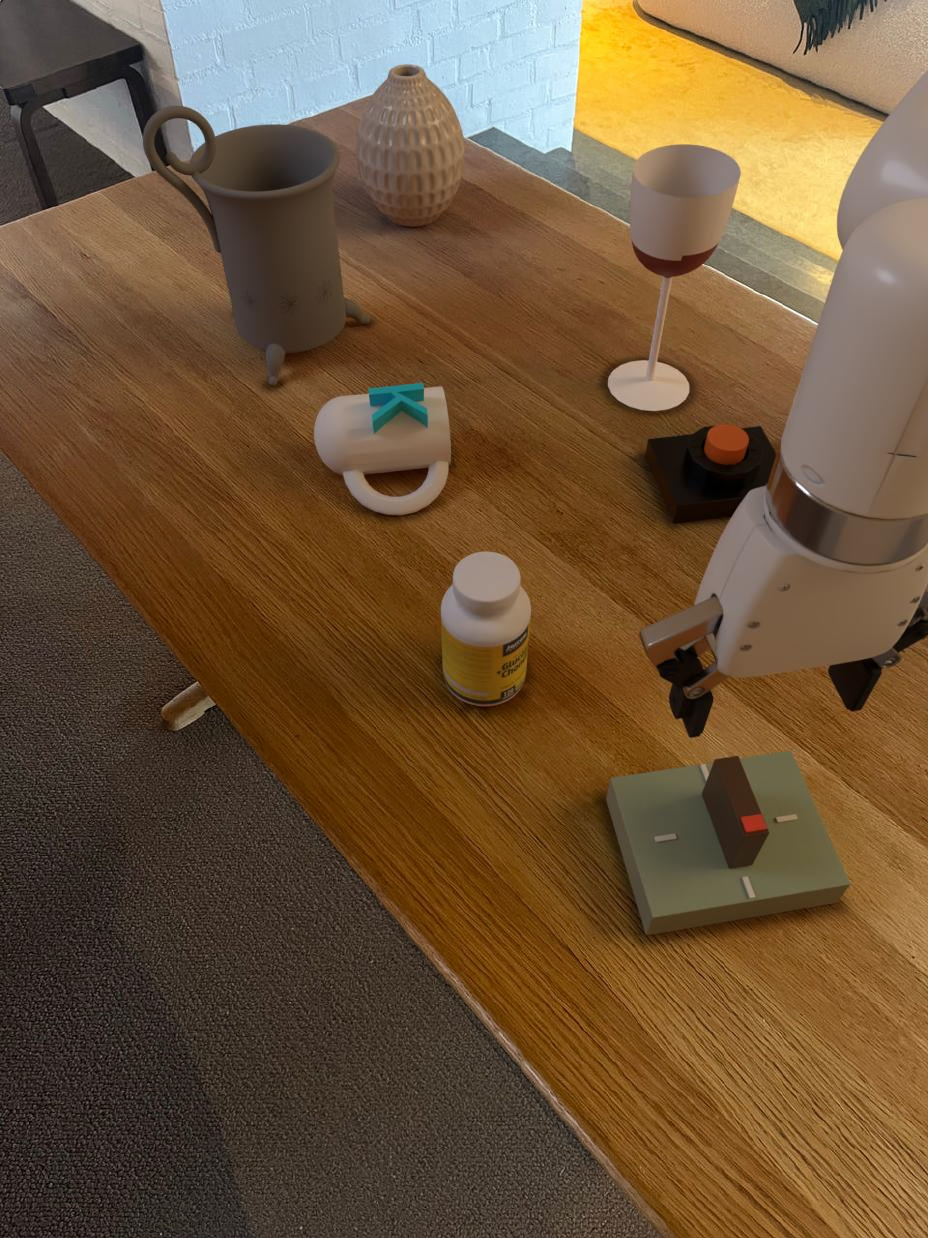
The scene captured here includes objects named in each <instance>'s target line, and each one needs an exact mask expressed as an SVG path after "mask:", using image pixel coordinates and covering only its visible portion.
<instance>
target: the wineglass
mask: <svg viewBox="0 0 928 1238" xmlns="http://www.w3.org/2000/svg"><path fill="white" fill-rule="evenodd" d="M741 174H742V171H741V167H740V165H739V163H738V162H737V161H736V160H735V159H734V158H733V157H731V156H730V155H729V154H727V153H725V152H723V151H721V150H719V149H716V148H713V147H709V146H704V145H699V144H687V143H686V144H683V143H682V144H681V143H680V144H678V143H677V144H669V145H663V146H659V147H656V148H653V149H651V150H648V151H646V152H644V153H643V154H642V155H640V156H639V157H638V158H637V159H635V162H634V164H633V168H632V175H631V183H630V184H631V185H630V198H629V201H630V202H629V232H630V240H631V246H632V249H633V252H634V254H635V256H636V259H637V261H638V262H639V263H640V264H641V265H642V266H643V267H644V268H645V269H646V270H648V271H650V272H652V273H653V274H655V275H658V276H660V277H662V282H661V287H660V293H659V297H658V303H657V310H656V315H655V322H654V326H653V332H652V339H651V345H650V350H649V355H648V360H645V359H641V360H634V361H633V360H632V361H629V362H626V363H623V364H620V365H619V366H617V367H616V368H614V369H613V370H612V371H611V372H610V374H609V376H608V378H607V387H608V389H609V392H610V394H611V395H612V396H613V397H614V398H615V399H616V400H617V401H618V402H620V403H622V404H624V405H626V406H627V407H629V408H632V409H637V410H640V411H648V412H649V411H650V412H658V411H659V412H660V411H666V410H667V411H668V410H670V409H672V408H675V407H678V406H679V405H681V404H682V403H683V402H685V401H686V399H687V397H688V396H689V394H690V382H689V381H688V379H687V378H686V376H685V375H684V374H683V373H682V372H681V371H680V370H678V369H677V368H675V367H674V366H672V365H669V364H668V363H663V362H660V361H658V358H659V353H660V347H661V341H662V337H663V330H664V325H665V321H666V314H667V310H668V303H669V298H670V293H671V288H672V281H673V278H674V277H681V276H683V275H686V274H689V273H691V272H693V271H695V270H697V269H698V268H700V267H701V266H703V265H704V264H705V263H706V262H707V261H708V260H709V259H710V258H711V256H712V255H713V253H714V252H715V250H716V249H717V247H718V245H719V243H720V242H721V240H722V238H723V235H724V233H725V230H726V228H727V224H728V222H729V219H730V216H731V213H732V209H733V205H734V203H735V199H736V194H737V191H738V188H739V182H740V178H741Z"/></svg>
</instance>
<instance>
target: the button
mask: <svg viewBox="0 0 928 1238" xmlns="http://www.w3.org/2000/svg"><path fill="white" fill-rule="evenodd" d="M716 425H717V426H716ZM716 425H713V426H714V427H712V428H711V429H710V430H709V431H708V434H707V438H706V442H705V446H704V453H705V455H706V457H707V458H709V459H710V460H712V461H713V462H715V463H720V464H724V465H733V464H738V463H740V462H741V461H742V460H743V459H744V456H745V453H746V450H747V446H748V443H749V438H748V435H747V434H746V432H745V431H744V430H742V429H741V428H742V427H740V426H736V425H733V424H727V423H723V424H722V423H721V424H716Z"/></svg>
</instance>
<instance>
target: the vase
mask: <svg viewBox="0 0 928 1238" xmlns="http://www.w3.org/2000/svg"><path fill="white" fill-rule="evenodd" d="M455 110H456V109H455V108H454V106H453V105H452V103H451V101H450V100H449V98H448V97H447V95H446V94H445V93H444V92H443V90H441V89H440V88H439V87H438V86H437V85H436V84H435V82H433V81H432V80H430V78H428V76H427V74H426V71H425V69H424V68H422V67H421V66H419V65H417V64H410V63H409V64H408V63H407V64H399V65H396V66H394V67H391V68H390V70H389V71H388V73H387V77H386V79H385V80H384V81H383V82H382V83H381V84H380V85H379V86H378V87H377V89H375V90H374V92H373V94H372V95H371V96H370V97H369V99H368V101H367V102H366V104H365V107H364V109H363V111H362V114H361V117H360V119H359V122H358V127H357V130H356V131H357V132H356V139H355V140H356V141H355V156H356V164H357V169H358V174H359V177H360V181H361V183H362V186H363V188H364V190H365V192H366V193H367V196H368V197H369V199H370V200H371V202H372V203H373V205H374V206H375V207H376V208H377V209H378V211H380V212H381V214H383V215H384V216H385V217H386V218H387V219H388V220H389V221H391V222H392V223H393V224H395V225H398V226H401V227H406V228H419V227H420V228H421V227H425V226H427V225H430V224H432V223H434V222H435V221H436V220H438V218H440V216H442V215H443V213H444V212H445V211H446V210H447V209H448V208H449V206H450V205H451V203H452V201H453V200H454V198H455V196H456V194H457V192H458V190H459V188H460V186H461V183H462V178H463V175H464V170H465V161H466V155H465V153H466V152H465V151H466V150H465V148H466V147H465V139H464V132H463V129H462V125H461V122H460V119H459V117H458V115H457V112H456V111H455Z"/></svg>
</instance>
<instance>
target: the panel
mask: <svg viewBox="0 0 928 1238" xmlns="http://www.w3.org/2000/svg"><path fill="white" fill-rule="evenodd" d="M739 759H740V761H741V764H742V766H743V768H744V771H745V773H746V776H747V778H748V781H749V783H750V786H751V788H752V791H753V793H754V796H755V798H756V801H757V803H758V806H759V808H760V811H761V813H762V816H763V818H764V821H765V823H766V826H767V828H768V830H769V835H768V837H767V839H766V840H765V842H764V844H763V846H762V848H761V850H760V852H759V854H758V855H757V857H756V859H755V861H754V863H753V865H749V866H743V867H737V868H731V869H729V867H728V865H727V862H726V859H725V856H724V854H723V851H722V848H721V845H720V843H719V840H718V837H717V834H716V832H715V829H714V826H713V823H712V821H711V818H710V815H709V812H708V810H707V807H706V804H705V801H704V799H703V796H702V791H703V789H704V786H705V784H706V781H707V778H708V776H709V773H710V771H711V768H712V765H713V763H714V761H713V762H706V763H699V764H693V765H686V766H679V767H674V768H667V769H660V770H653V771H647V772H646V771H645V772H642V773H641V772H640V773H634V774H628V775H620V776H614V777H610V780H609V784H608V788H607V793H606V797H605V801H606V804H607V808H608V812H609V814H610V818H611V821H612V825H613V828H614V831H615V836H616V839H617V842H618V845H619V849H620V851H621V856H622V859H623V862H624V866H625V869H626V873H627V877H628V879H629V883H630V886H631V889H632V893H633V896H634V900H635V904H636V907H637V910H638V914H639V917H640V921H641V924H642V927H643V931H644V934H645V936H652V935H658V934H664V933H670V932H674V931H676V932H677V931H680V930H681V931H682V930H687V929H693V928H699V927H704V926H709V925H716V924H722V923H728V922H734V921H739V920H744V919H751V918H757V917H763V916H767V915H775V914H781V913H786V912H787V913H788V912H792V911H798V910H803V909H804V910H805V909H809V908H810V909H811V908H816V907H820V906H827V905H834V904H837V903H838V902H839V901H840V900H841V898H842V897H843V896H844V894H845V893H846V891H847V890H848V889H849V887H850V886H851V881H850V879H849V877H848V875H847V872H846V870H845V867H844V865H843V864H842V861H841V859H840V856H839V855H838V852H837V849H836V848H835V846H834V843H833V841H832V839H831V837H830V834H829V832H828V830H827V828H826V826H825V823H824V821H823V819H822V817H821V814H820V812H819V810H818V806H817V805H816V803H815V801H814V798H813V796H812V793H811V792H810V789H809V787H808V785H807V782H806V780H805V778H804V776H803V773H802V772H801V770H800V767H799V765H798V763H797V760H796V758H795V756H794V754H793V751H792V750H785V751H778V752H771V753H764V754H758V755H753V756H752V755H751V756H745V757H739Z"/></svg>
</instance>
